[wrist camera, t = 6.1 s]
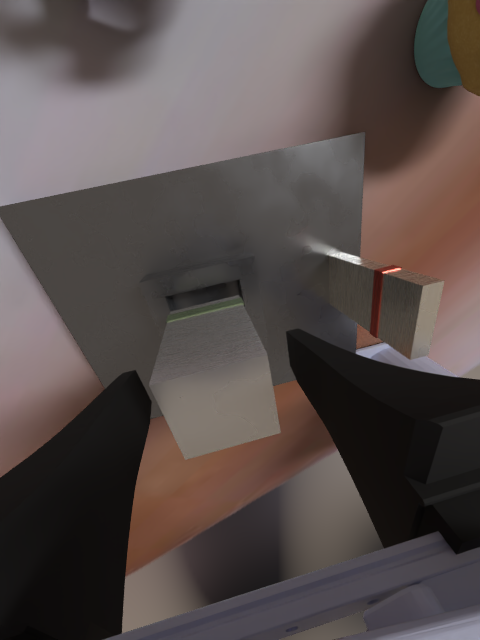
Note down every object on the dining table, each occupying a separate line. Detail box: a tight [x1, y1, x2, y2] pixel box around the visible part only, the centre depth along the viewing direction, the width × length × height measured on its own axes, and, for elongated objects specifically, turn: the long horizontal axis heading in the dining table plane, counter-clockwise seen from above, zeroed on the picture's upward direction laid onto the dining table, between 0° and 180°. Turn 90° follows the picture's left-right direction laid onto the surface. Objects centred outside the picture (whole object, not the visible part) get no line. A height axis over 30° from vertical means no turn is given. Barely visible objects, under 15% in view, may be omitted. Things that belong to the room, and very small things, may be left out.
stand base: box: [0, 132, 444, 419], centre depth 14 cm, size 18×22×9 cm
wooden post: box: [149, 295, 281, 460], centre depth 11 cm, size 4×4×6 cm
